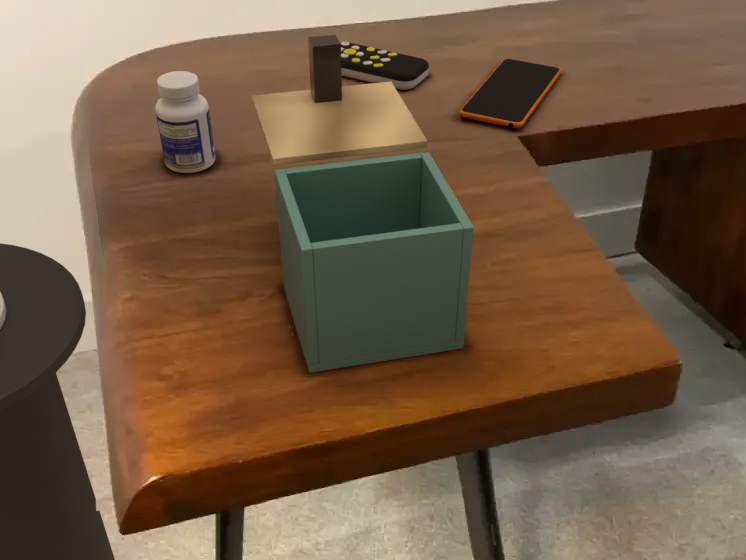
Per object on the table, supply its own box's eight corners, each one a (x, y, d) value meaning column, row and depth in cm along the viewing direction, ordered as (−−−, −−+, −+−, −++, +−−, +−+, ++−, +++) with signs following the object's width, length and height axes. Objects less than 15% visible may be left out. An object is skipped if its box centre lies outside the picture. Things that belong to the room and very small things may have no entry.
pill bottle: (185, 145, 98) (172, 63, 92) (225, 156, 96) (215, 74, 90) (154, 167, 94) (138, 83, 88) (195, 179, 93) (183, 95, 87)
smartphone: (562, 73, 112) (563, 66, 111) (520, 131, 100) (521, 124, 100) (503, 62, 114) (503, 55, 113) (456, 118, 103) (456, 111, 102)
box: (309, 373, 71) (301, 250, 63) (283, 287, 79) (274, 169, 72) (463, 348, 73) (474, 227, 66) (423, 267, 82) (428, 151, 74)
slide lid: (273, 165, 72) (267, 98, 68) (251, 102, 80) (245, 38, 76) (427, 147, 74) (430, 81, 70) (391, 87, 82) (392, 25, 78)
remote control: (410, 93, 107) (410, 77, 106) (317, 71, 112) (316, 55, 110) (433, 74, 111) (433, 58, 110) (342, 53, 116) (341, 37, 114)
